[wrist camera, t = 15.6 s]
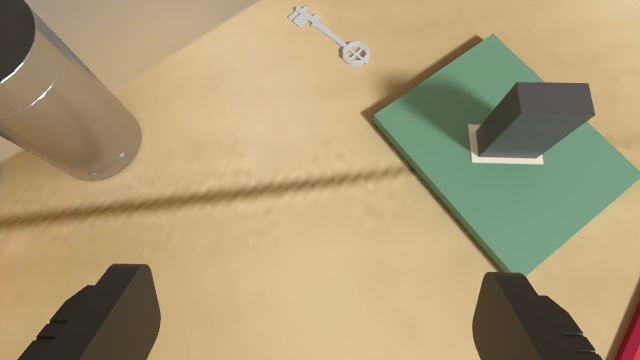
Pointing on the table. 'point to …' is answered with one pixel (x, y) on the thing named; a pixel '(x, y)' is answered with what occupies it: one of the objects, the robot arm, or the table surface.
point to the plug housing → (534, 119)
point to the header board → (501, 161)
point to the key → (332, 36)
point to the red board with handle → (631, 340)
